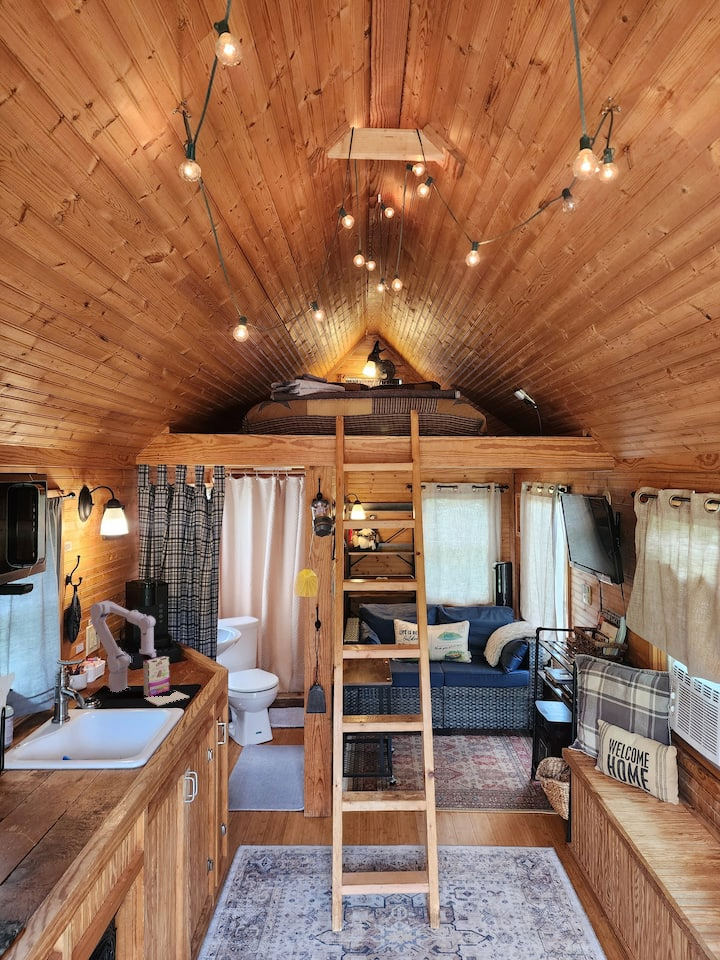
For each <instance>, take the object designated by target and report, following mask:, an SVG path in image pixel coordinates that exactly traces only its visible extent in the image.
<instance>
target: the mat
mask: <svg viewBox="0 0 720 960" xmlns="http://www.w3.org/2000/svg"><path fill="white" fill-rule="evenodd" d="M175 691H176V692H174V693H172V694H171V695H170V696H163V697H162V696H159V697H158V696H155V697H154V696H151V697H144V698H143V700H144V699H146V700H147V702H148V701H149V703H151V704H153V705H155V706H156V707H159V706H162V705H167V704H170V703H169V702H171V703H174V702H177V701H176V700H178V701H181V700H180V699H182V700H185V699H184V698H186V699H189V698H190V695H186V694H184V693H182V692H180V691H177V690H175ZM146 700H145V701H146ZM173 701H174V702H173ZM166 703H167V704H166Z"/></svg>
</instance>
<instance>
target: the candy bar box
mask: <svg viewBox="0 0 720 960" xmlns="http://www.w3.org/2000/svg"><path fill="white" fill-rule="evenodd" d="M142 665H143V666H142V668H143V696H144V695H146V696H148V697H150V696H153V695H156V694H159V693H162V692H166V691H169V690H170V691H171V687H170V686H171V679H170V678H171V676H170V657H169V656H165V655H164V656H159V657H154V659H150V660H146V661H142Z"/></svg>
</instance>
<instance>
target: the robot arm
mask: <svg viewBox="0 0 720 960" xmlns="http://www.w3.org/2000/svg"><path fill="white" fill-rule="evenodd" d="M111 613H113V614H115V615H118V616H121V617H124V618H125V619H126V621H127V622H129V623H130V624H133V625H135V626H138V628H139V629H140V640H141V642H140V647H141V648H139V649H138V651H139V652H138V653H139V654H141V655H140V657H139V658H140V659H141V662H143V661H146V660H150V659H154V658H157V649H155V648H154V646H155V643H154V641H155V640H154V637H155V635H154V630H155V629H154V628H155V627H154V626H155V625H156V623H157V621H156V618H155V617H154V616H152V615H147V614H145V613H144V614H143V613H141V612H139V610H137V609H133V610H129V609H127V608H124V607H122V606H120V605H118V604H117V603H115V602H114V601H110V600H107V599H106V600H103V601H99V602H95V603H93V604H92V605H91V606H90V609H89V614H90V615H91V624H92V627H93V628H94V630H95V632H96V635H97V636H98V639H99V641H100V642H101V644H102V646H103V649H104V651H105V652H106V654H107V659H106V662H107V663H106V664H107V669H108V671H109V675H108V688H110V691H109V692H111V691H112V692H111V693H113V692H116V693H120V692H123V691H122V690H125V689H126V688H130V687H128V667H129V666H130V663H131V660H130V657H129V656H128V655H126V653H125V651H122V650H121V649H119V647H118V644H117V643H116V641H115V639H114V637H113V634H112V633H111V631H110V629H109V627H108V625H107V623H106V620H107V617H108V616H109V615H110V614H111ZM119 691H120V692H119ZM125 691H126V690H125Z"/></svg>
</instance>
